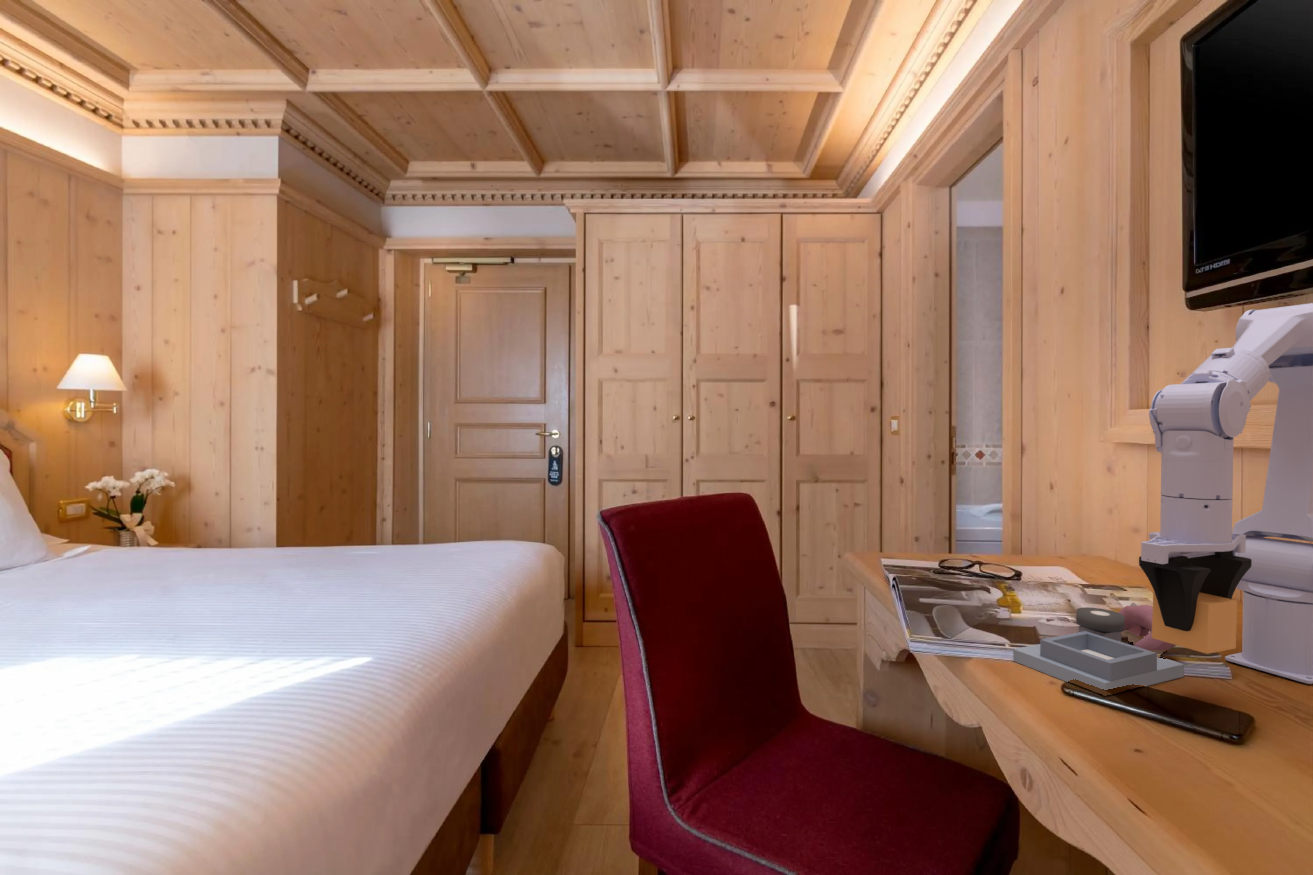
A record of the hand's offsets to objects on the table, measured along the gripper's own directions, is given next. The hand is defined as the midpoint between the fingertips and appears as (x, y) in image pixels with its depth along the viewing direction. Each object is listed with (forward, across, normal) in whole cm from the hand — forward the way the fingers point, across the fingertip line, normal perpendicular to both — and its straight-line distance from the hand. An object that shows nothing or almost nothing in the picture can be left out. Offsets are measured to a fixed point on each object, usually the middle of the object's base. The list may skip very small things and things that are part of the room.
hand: (1193, 624), depth 66 cm
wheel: (+7, -5, -13) cm, 15 cm away
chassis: (+8, 0, -10) cm, 13 cm away
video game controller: (+9, -12, -12) cm, 19 cm away
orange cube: (+2, 0, 0) cm, 2 cm away
